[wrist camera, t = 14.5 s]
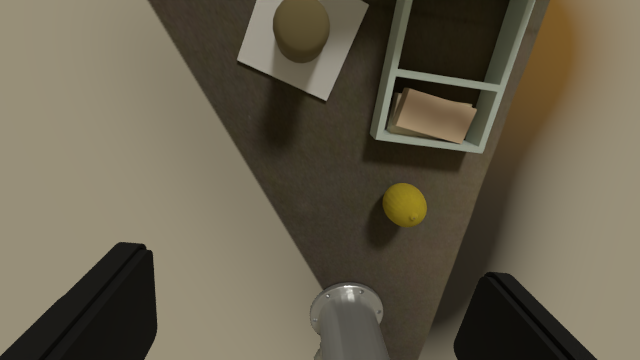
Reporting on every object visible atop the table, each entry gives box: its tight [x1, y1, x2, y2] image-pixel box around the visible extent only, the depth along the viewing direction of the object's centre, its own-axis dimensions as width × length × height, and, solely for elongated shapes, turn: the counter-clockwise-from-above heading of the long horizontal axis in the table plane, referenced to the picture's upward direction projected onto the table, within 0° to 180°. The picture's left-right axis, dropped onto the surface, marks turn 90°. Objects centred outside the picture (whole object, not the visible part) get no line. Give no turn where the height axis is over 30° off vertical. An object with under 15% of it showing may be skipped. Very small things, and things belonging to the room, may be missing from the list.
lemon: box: [383, 183, 427, 227], centre depth 41 cm, size 6×6×8 cm
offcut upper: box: [392, 87, 477, 144], centre depth 38 cm, size 5×9×2 cm, turn 74°
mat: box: [237, 0, 369, 101], centre depth 36 cm, size 12×12×1 cm
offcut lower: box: [386, 93, 472, 140], centre depth 40 cm, size 5×10×2 cm, turn 82°
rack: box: [370, 0, 535, 153], centre depth 33 cm, size 20×15×12 cm
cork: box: [273, 0, 330, 63], centre depth 31 cm, size 6×6×11 cm
